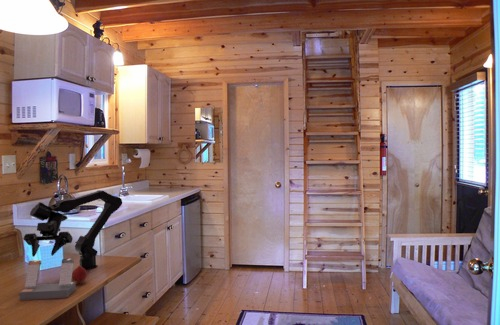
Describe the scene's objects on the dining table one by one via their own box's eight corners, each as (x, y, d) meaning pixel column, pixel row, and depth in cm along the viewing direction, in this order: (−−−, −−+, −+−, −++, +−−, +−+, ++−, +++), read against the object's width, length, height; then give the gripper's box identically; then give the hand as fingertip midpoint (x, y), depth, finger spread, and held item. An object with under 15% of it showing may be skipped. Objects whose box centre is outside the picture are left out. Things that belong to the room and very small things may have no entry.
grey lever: (60, 284, 141) (64, 259, 145) (71, 284, 142) (74, 258, 145) (58, 284, 140) (61, 259, 143) (69, 284, 140) (72, 258, 143)
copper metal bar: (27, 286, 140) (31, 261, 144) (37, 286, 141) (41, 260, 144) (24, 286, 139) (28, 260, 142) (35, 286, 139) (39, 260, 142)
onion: (83, 279, 156) (82, 262, 156) (89, 282, 153) (88, 264, 152) (70, 283, 152) (69, 265, 152) (76, 286, 148) (75, 268, 148)
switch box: (30, 292, 144) (30, 284, 143) (75, 289, 145) (75, 281, 145) (19, 300, 136) (19, 291, 135) (67, 297, 137) (67, 289, 137)
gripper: (24, 215, 153) (10, 247, 142) (68, 213, 154) (58, 245, 144) (35, 229, 161) (22, 260, 150) (76, 227, 162) (67, 257, 152)
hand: (42, 255), depth 149 cm, fingers open, 7 cm apart
